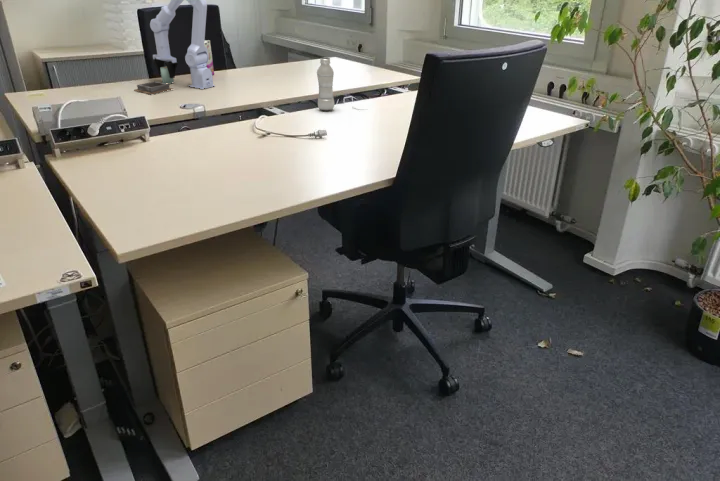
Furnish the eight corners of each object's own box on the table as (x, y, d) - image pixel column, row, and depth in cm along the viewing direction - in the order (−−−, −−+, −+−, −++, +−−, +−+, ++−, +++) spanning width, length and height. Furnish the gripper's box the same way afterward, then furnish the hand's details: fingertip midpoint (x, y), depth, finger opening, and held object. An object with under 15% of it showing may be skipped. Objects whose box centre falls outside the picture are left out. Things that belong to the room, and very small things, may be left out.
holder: (173, 90, 244) (172, 84, 243) (151, 95, 235) (150, 89, 234) (156, 86, 250) (155, 80, 249) (134, 91, 241) (133, 85, 240)
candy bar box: (204, 74, 274) (200, 40, 266) (214, 74, 274) (210, 40, 266) (198, 79, 264) (194, 43, 257) (208, 79, 264) (204, 43, 257)
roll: (176, 82, 257) (174, 67, 254) (167, 84, 254) (164, 68, 250) (169, 81, 260) (166, 65, 257) (160, 82, 256) (157, 67, 253)
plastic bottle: (332, 112, 215) (331, 60, 205) (315, 111, 216) (314, 59, 206) (336, 108, 220) (335, 57, 211) (320, 107, 221) (319, 56, 212)
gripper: (145, 45, 250) (150, 76, 256) (165, 49, 243) (170, 80, 249) (158, 44, 255) (162, 73, 261) (178, 47, 248) (182, 77, 254)
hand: (167, 76), depth 256 cm, fingers open, 7 cm apart
